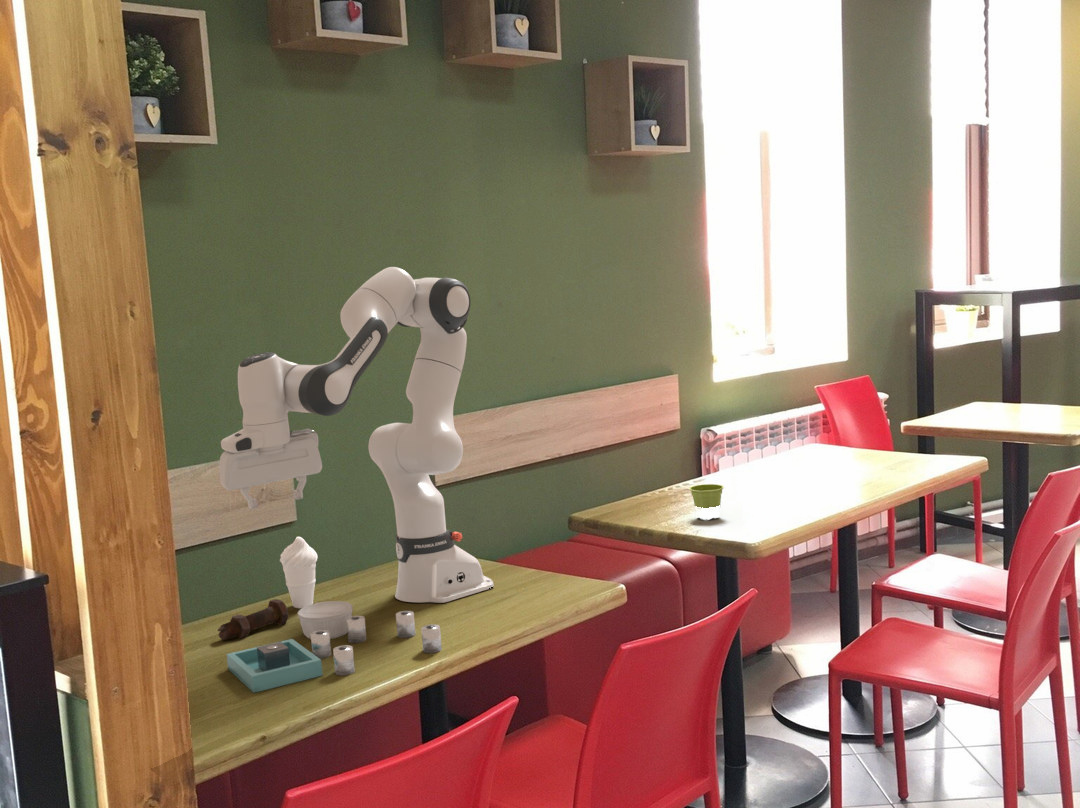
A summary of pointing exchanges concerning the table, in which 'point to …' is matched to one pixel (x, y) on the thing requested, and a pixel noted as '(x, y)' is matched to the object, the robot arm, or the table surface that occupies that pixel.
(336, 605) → the ramekin
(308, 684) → the table surface
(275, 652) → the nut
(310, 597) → the soft serve ice cream cone
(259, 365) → the robot arm
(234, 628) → the bolt
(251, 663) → the tray
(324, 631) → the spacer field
